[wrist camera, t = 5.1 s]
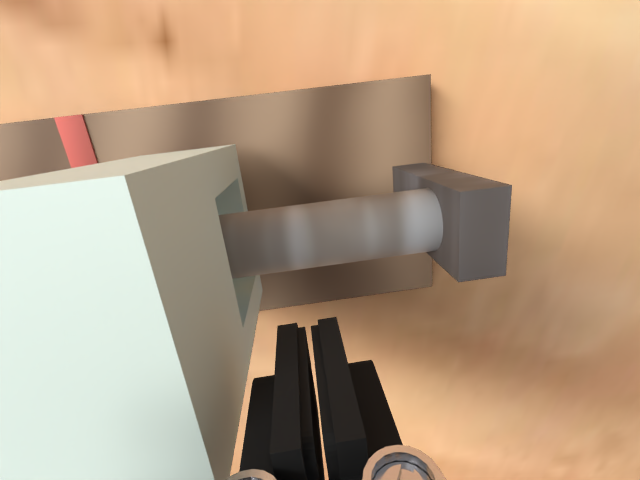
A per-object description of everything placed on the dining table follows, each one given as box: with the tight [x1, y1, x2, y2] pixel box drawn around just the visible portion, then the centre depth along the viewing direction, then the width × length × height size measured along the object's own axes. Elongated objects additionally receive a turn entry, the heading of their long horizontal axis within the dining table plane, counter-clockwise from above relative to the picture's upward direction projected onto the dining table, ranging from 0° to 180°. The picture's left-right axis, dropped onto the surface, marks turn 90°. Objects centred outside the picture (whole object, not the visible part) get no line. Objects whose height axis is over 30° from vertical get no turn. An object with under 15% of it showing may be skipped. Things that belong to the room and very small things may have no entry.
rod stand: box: [0, 74, 512, 311], centre depth 14 cm, size 23×11×8 cm, turn 97°
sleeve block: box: [0, 144, 263, 480], centre depth 11 cm, size 4×7×10 cm, turn 7°
